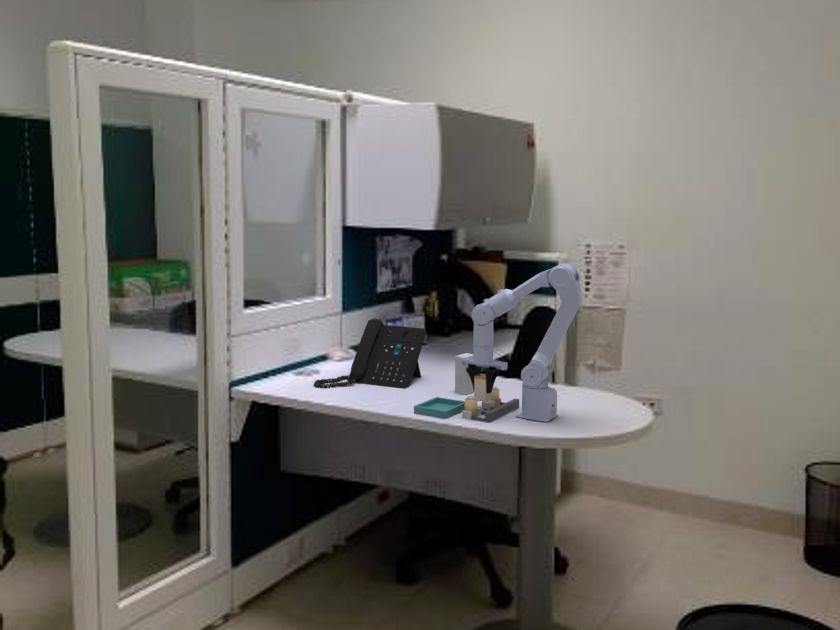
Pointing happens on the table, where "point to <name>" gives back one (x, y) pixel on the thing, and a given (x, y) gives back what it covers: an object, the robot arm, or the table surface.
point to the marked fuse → (481, 388)
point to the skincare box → (462, 376)
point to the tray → (440, 407)
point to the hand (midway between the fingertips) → (482, 391)
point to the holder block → (492, 410)
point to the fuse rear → (495, 396)
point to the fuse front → (471, 405)
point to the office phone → (384, 357)
